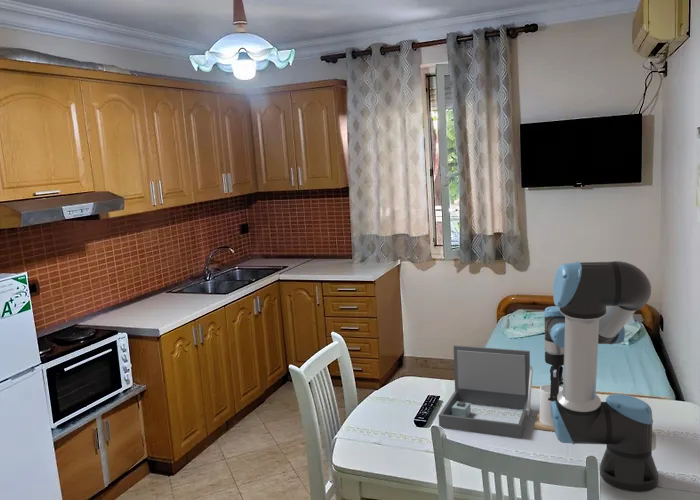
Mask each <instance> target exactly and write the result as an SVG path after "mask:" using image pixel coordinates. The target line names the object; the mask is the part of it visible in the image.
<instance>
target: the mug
mask: <svg viewBox="0 0 700 500" xmlns="http://www.w3.org/2000/svg"><path fill="white" fill-rule="evenodd" d="M550 388H551V384H544V385H541V386H540V387H539V412H540V418H539V421H540V423H542V424H543V425H546V426H550V427H554V425H553V420H552V419H551V401H549V400H548V398H550ZM562 390H563V388H562V387H560V386H559V392H561V391H562ZM555 398H556V397H555Z"/></svg>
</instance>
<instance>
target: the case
mask: <svg viewBox="0 0 700 500" xmlns="http://www.w3.org/2000/svg"><path fill="white" fill-rule="evenodd" d="M530 355H531V351H530V350H524V349H523V350H520V349H510V348H509V349H508V348H497V347H496V348H495V347H482V346H470V345H468V346H467V345H455V344H454V345H453V370H454V372H453V373H454V375H453V376H454V392H453V393H452V395H451V396H450V398H449V399H448V401H447V402H446V404H445V405H444V407H443V408H442V409H441V411H440V412H439V414H438V427H439V426H441V427H443V428H442V429H450V430H456V431H464V432H470V433H471V432H472V433H478V434H479V433H480V434H487V435H492V436H501V437H508V438H517V439H522V436H523V434H524V431H525V428H526V425H527V421H528V418H529V415H530V413H531V409H532V408H531V406H532V405H531V403H532V402H531V400H532V387H533V384H532V383H533V370H534V369H533V366H532V365H531V356H530ZM457 401H459V402H465V403H472V404H471V405H478V406H486V407H494V408H505V409H511V410H512V409H514V410H520V409H523V410H522V412H521V415H520V418H519V421H518V423H514V422H513V423H512V422H507V421H498V420H490V419H481V418H476V417H475V418H473V417H459V416H452V406H453V405H454V404H455V403H456V402H457ZM441 427H440V428H441Z"/></svg>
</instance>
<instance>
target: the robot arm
mask: <svg viewBox="0 0 700 500" xmlns="http://www.w3.org/2000/svg"><path fill="white" fill-rule="evenodd" d="M553 281H554V282H553V288H552V289H553V290H552V291H553V294H552V295H553V297H552V298H553V303H554V306H553V305H551V306H547V307H546V308H545V309H544V316H543V320H544V351H545V352H544V361H545V363H546V364H548V365H550V368H549V374H550V375H549V377H550V379H549V380H550V385H551V388H550V398H548V400H549V401H551V419H552V420H553V425H554V429H555V432H554V433H555V437H556V439H557V440H558V441H559V442H560V443H563V444H571V445H577V444H578V445H606V449H605V451H604V454H603V457H602V459H601V460H600V461H601V462H600V465H599V476H600V477H601V479H603V481H604V482H606V483H607V484H609V485H611V486H612V487H615V488H618V489H621V490H625V491H631V492H646V491H650V490H654V489H656V487H657V486H658V485H659V472H658V469H657V467H656V464H655V460H654V457H653V455H652V454H653V452H652V451H653V449H652V448H653V423H654V420H653V411H652V407H651V406H650V405H649V404H648V403H647V402H645V401H644V400H643V399H640V398H637V397H635V396H631V395H628V394H623V393H622V394H621V393H612V394H609V395H607V397H606V399H605V401H602V400H601V398H600V397H599V395H597V394H596V392H597V376H598V374H597V373H598V372H597V370H598V356H599V355H598V353H599V351H598V350H599V345H615V344H622V343H623V342H624V341H625V337H626V330H625V325H626V324H627V323H628V321H629V320H630V319H631V317H632V316H633V315H634V314H635V312H637V311H640V310H641V309H643V308H644V307H645V306H646V305H647V304H648V301H649V300H650V298H651V295H652V284H651V282H650V279H649V278H648V276H647V275H646V274H645V272H644V271H643V270H641V268H639V267H637V266H636V265H634V264H632V263H629V262H626V261H625V262H624V261H621V260H620V261H619V260H616V261H614V260H613V261H592V262H591V261H586V262H585V261H584V262H580V261H574V262H569V263H567V262H566V263H563V264H561V265H559V267H558V268H557V270H556V273H555V276H554V280H553ZM559 386H560V387H562V388H563V390H562V391H561V392H559ZM555 397H556V398H555Z"/></svg>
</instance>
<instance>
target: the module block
mask: <svg viewBox="0 0 700 500" xmlns="http://www.w3.org/2000/svg"><path fill="white" fill-rule="evenodd" d="M471 409H472V408H471V404H470V403H465V402H459V401H457V402H456V403H455V404H454V405H453V406H452V412H451V415H452V416H459V417H467V418H469V416H470V415H471Z"/></svg>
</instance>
